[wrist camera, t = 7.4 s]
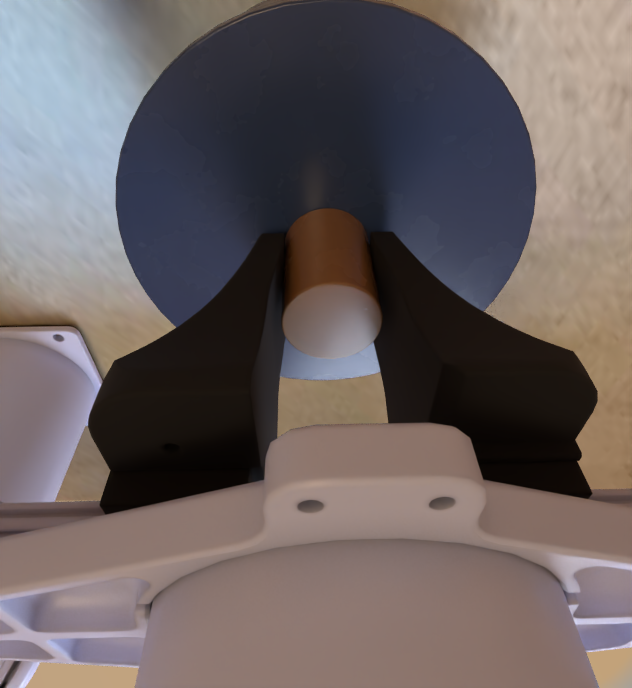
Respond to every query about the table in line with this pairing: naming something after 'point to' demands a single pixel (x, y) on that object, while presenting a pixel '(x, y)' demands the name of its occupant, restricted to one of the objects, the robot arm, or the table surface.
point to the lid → (325, 169)
